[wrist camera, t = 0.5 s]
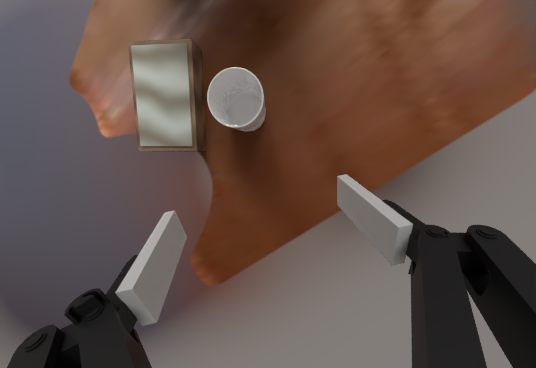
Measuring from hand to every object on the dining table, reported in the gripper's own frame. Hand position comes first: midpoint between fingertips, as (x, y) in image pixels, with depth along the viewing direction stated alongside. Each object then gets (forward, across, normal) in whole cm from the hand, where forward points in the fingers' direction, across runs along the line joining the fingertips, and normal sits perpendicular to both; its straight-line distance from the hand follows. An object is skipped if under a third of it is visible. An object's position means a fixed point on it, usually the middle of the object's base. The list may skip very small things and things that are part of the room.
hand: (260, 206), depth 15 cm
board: (+29, -12, +8) cm, 32 cm away
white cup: (+25, +1, +5) cm, 26 cm away
